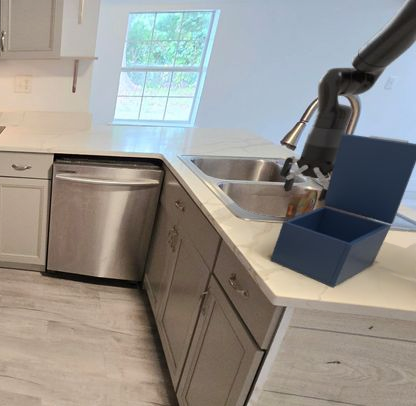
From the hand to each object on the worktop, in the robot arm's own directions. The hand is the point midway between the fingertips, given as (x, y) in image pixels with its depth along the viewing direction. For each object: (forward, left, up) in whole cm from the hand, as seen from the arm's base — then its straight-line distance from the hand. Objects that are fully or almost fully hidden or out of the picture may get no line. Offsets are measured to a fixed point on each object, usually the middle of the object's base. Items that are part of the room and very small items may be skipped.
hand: (304, 195), depth 109 cm
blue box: (-16, +24, -7) cm, 30 cm away
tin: (0, 0, -7) cm, 7 cm away
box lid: (-16, +17, +13) cm, 27 cm away
